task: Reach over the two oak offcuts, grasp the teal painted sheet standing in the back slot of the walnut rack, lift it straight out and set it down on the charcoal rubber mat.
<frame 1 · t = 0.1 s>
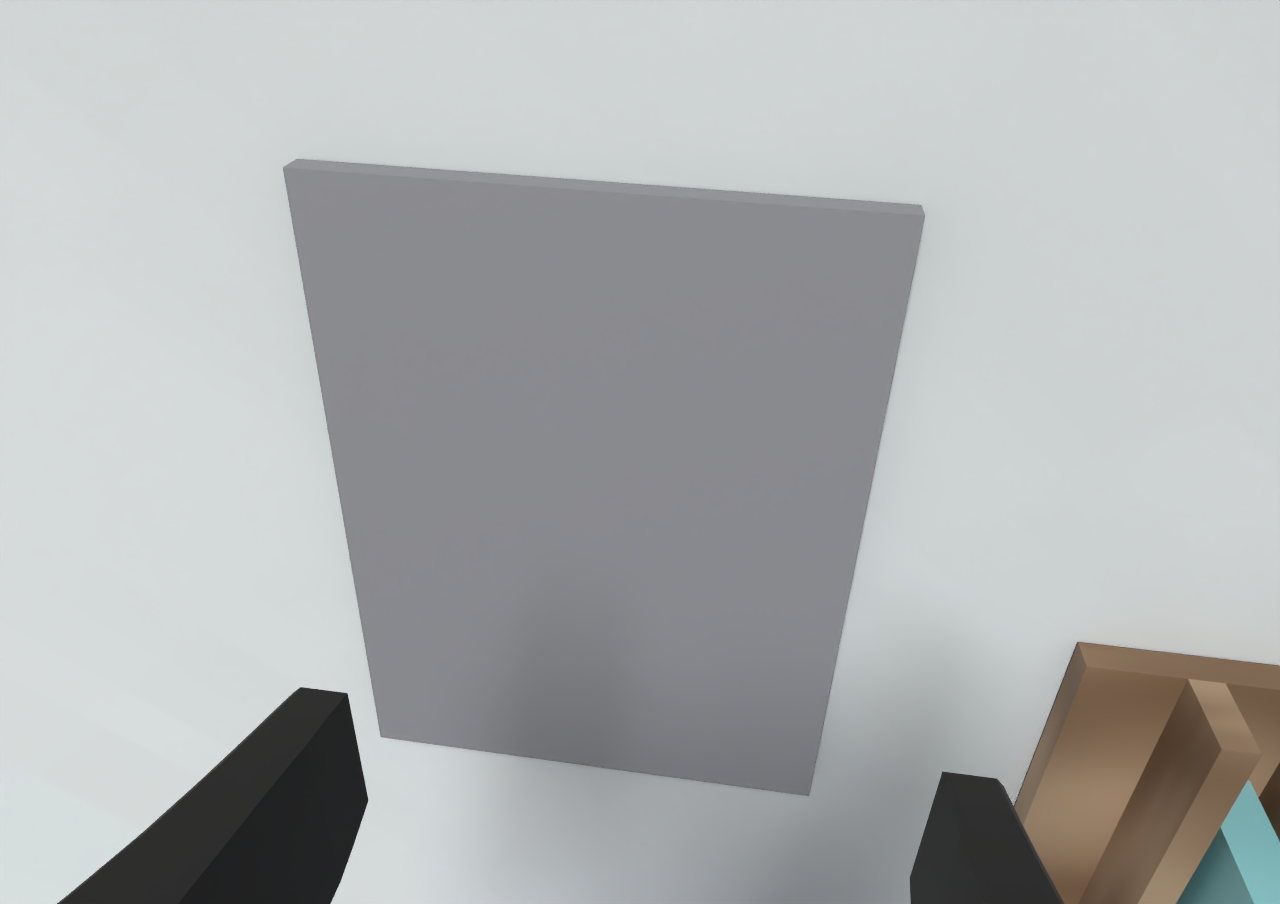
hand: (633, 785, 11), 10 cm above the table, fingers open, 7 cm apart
mat: (595, 520, 22), on the table
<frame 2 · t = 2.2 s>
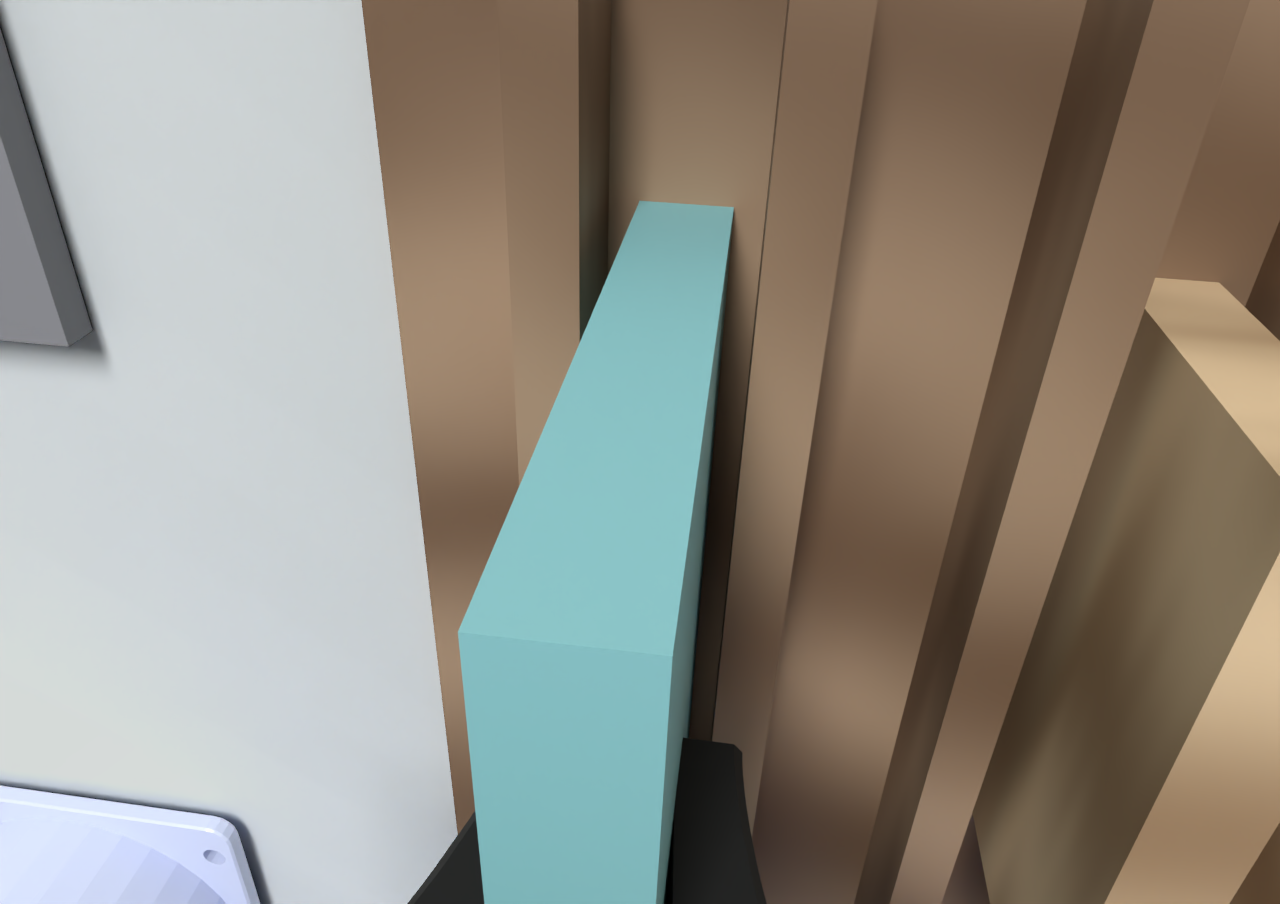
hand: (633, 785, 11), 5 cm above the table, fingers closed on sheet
rack: (882, 564, 15), on the table
sheet: (665, 572, 15), point 1 cm above the table, touching gripper, rack
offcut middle: (1068, 563, 14), point 1 cm above the table, touching rack
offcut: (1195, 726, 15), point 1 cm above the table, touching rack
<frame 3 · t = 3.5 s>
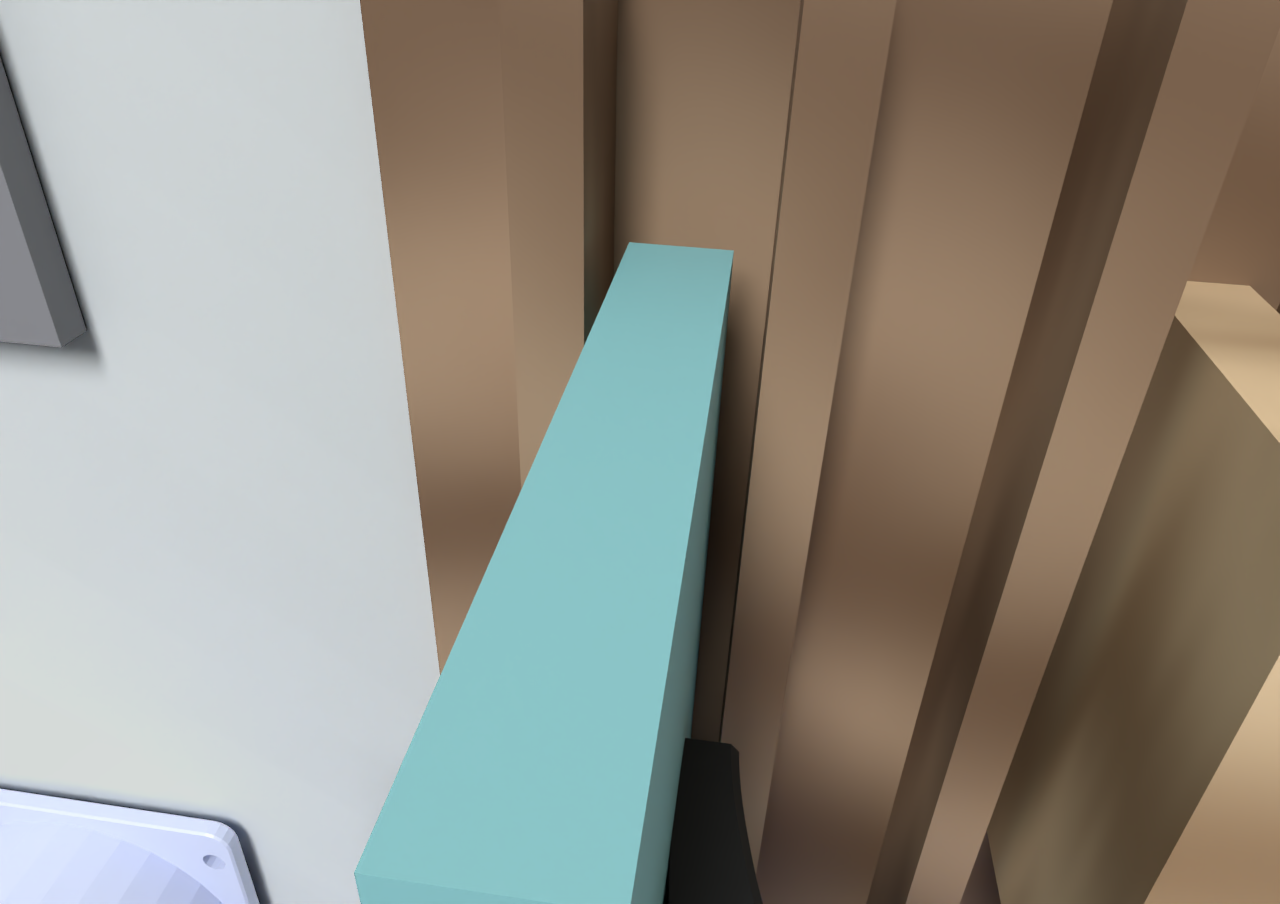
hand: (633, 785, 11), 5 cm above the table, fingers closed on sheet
rack: (894, 572, 15), on the table
sheet: (659, 635, 14), point 2 cm above the table, touching gripper
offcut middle: (1087, 574, 14), point 1 cm above the table, touching rack
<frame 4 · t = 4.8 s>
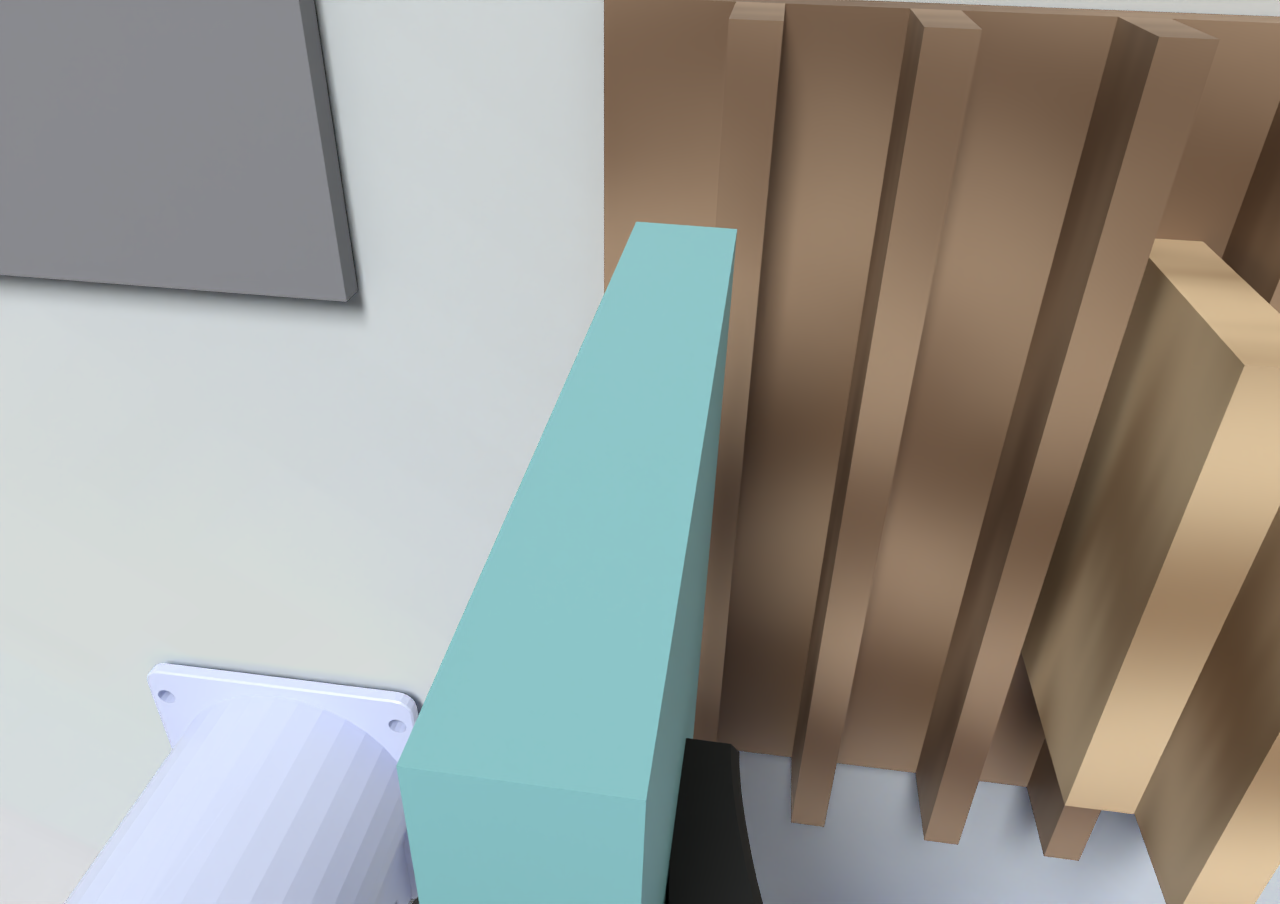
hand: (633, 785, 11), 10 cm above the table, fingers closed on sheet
rack: (952, 464, 20), on the table
sheet: (664, 607, 14), point 7 cm above the table, touching gripper
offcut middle: (1095, 455, 19), point 1 cm above the table, touching rack
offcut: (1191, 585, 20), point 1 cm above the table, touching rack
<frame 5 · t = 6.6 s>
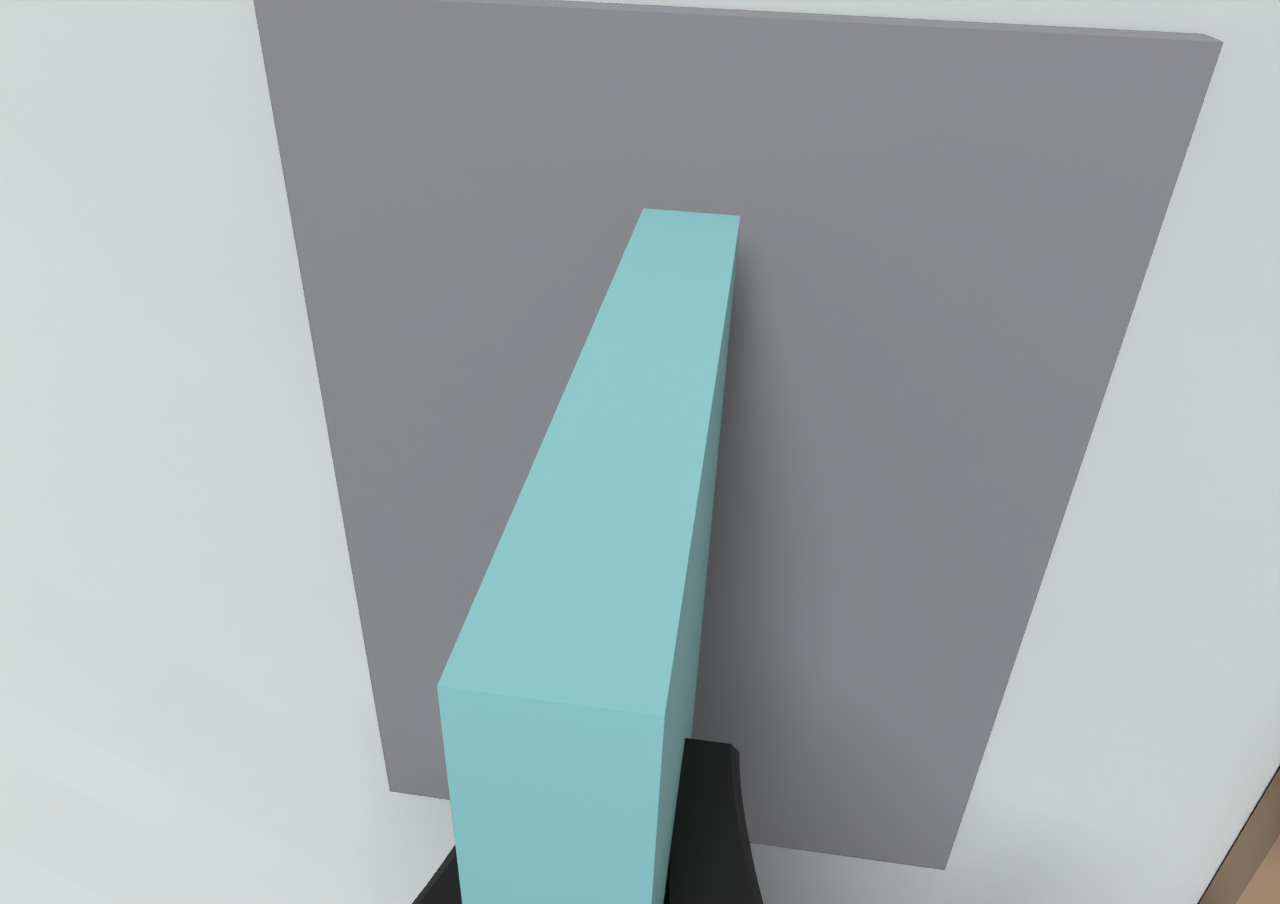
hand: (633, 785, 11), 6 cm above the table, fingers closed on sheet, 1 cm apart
mat: (681, 511, 16), on the table
sheet: (667, 585, 15), point 2 cm above the table, touching gripper
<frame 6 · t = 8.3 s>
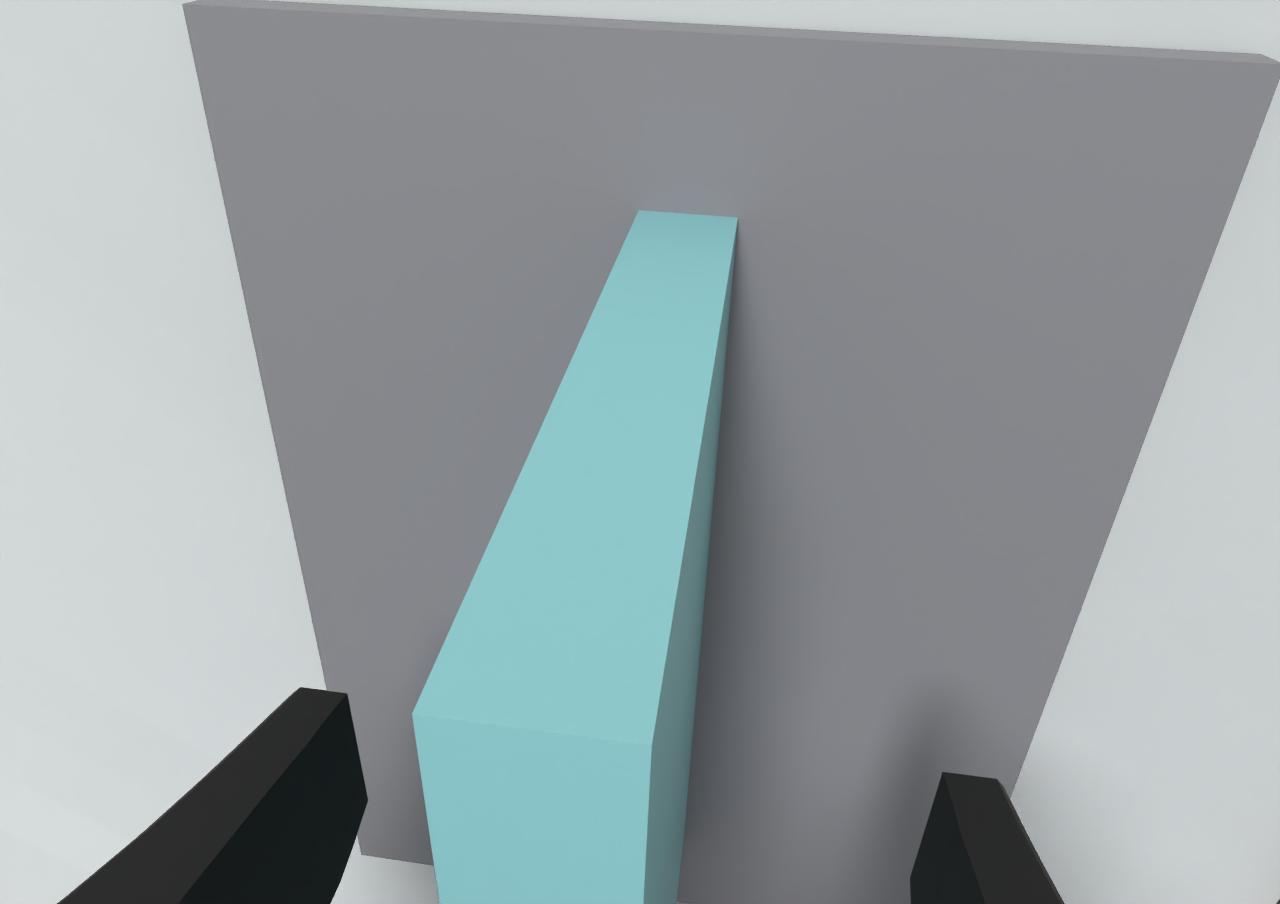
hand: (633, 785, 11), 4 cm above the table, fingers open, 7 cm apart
mat: (671, 568, 15), on the table
sheet: (666, 593, 15), point 1 cm above the table, touching mat
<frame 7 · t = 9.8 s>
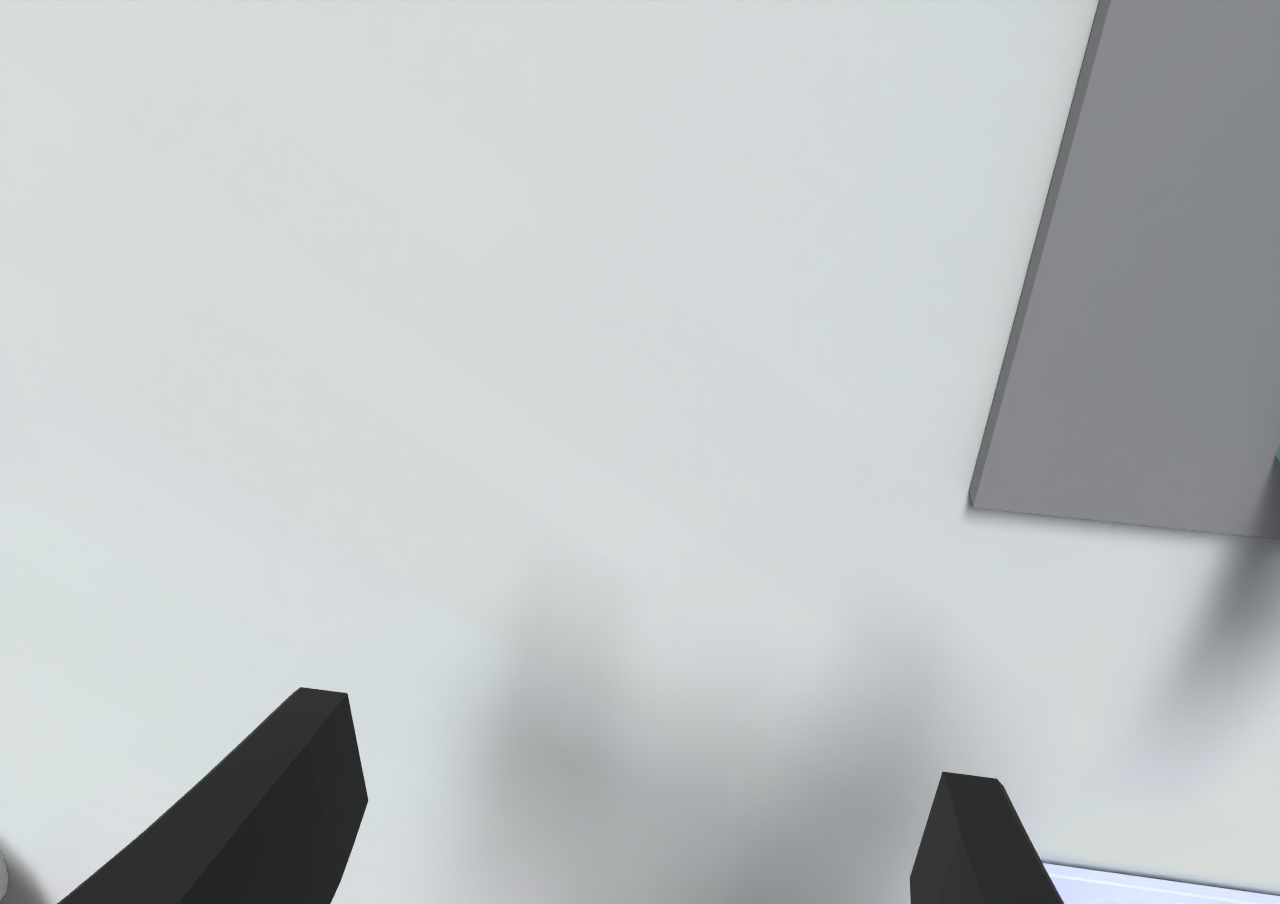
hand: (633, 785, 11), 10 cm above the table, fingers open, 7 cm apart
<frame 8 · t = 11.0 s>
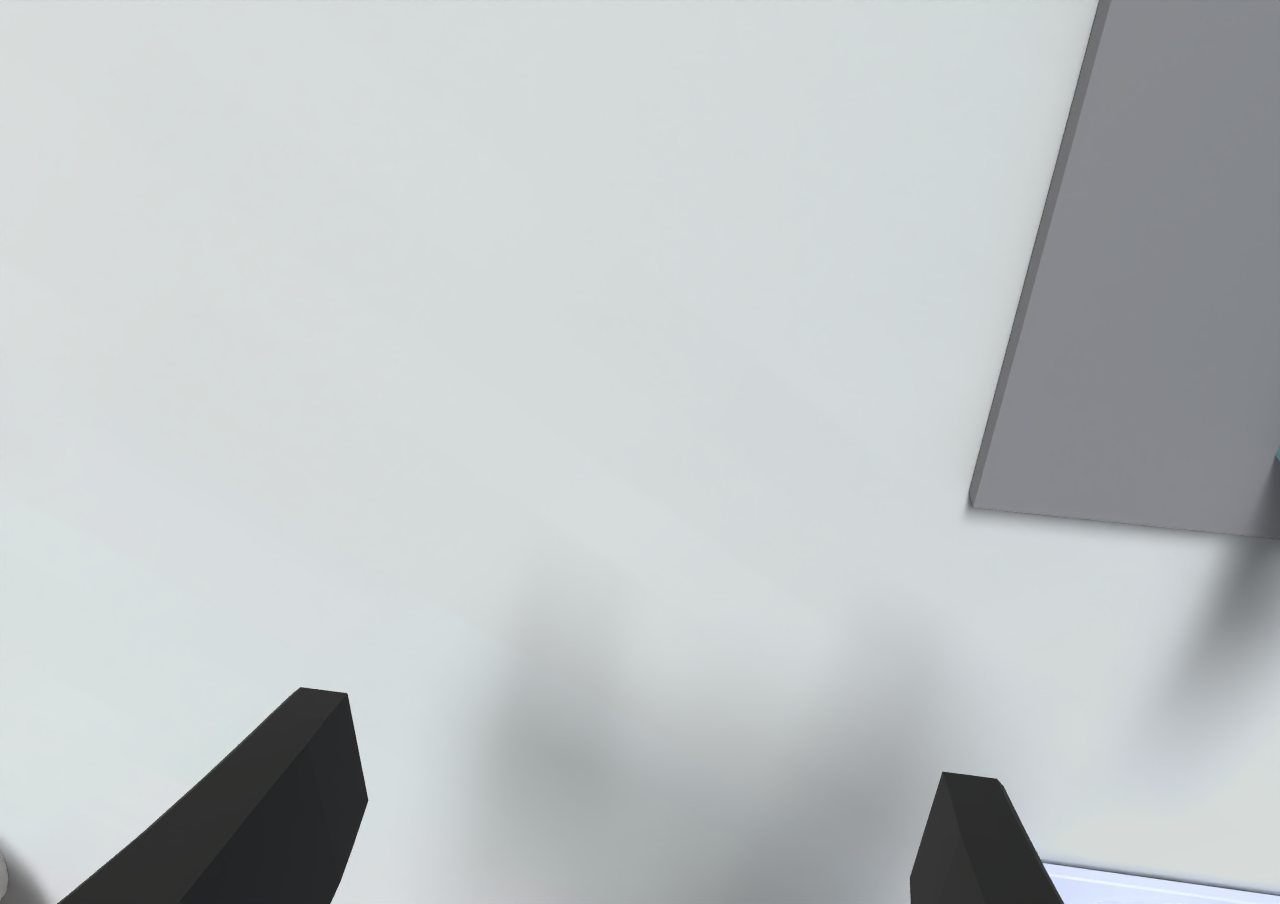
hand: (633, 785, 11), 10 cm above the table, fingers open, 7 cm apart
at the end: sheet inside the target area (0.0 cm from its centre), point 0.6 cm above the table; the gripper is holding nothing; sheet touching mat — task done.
